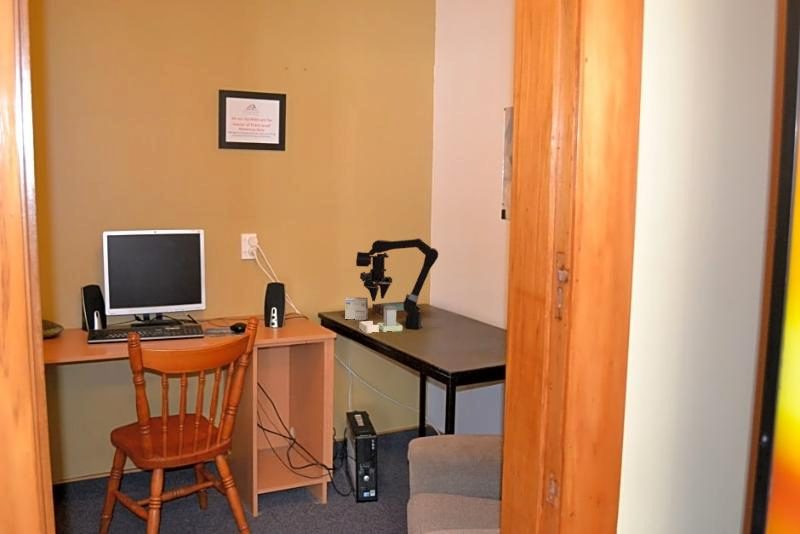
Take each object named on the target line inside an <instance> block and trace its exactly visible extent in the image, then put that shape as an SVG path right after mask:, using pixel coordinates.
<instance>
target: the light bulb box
mask: <svg viewBox="0 0 800 534" xmlns="http://www.w3.org/2000/svg"><path fill="white" fill-rule="evenodd" d="M344 301H345V302H344V320H345V319H355V320H354V321H364V320H366V319H367V320H368V318H369V317H368V315H369V308H368V307H369V305H368V304H369V303H368V302H369V299H368V297H361V296H360V297H352V296H347V297H346V298H345V299H344ZM367 320H366V321H367Z"/></svg>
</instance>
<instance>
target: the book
mask: <svg viewBox="0 0 800 534" xmlns="http://www.w3.org/2000/svg"><path fill="white" fill-rule="evenodd" d="M403 302H404V301H399V302H397V301H396V302H395V301H394V302H384V303H383V302H381V303H373V304H372V313H373V312H374V314H376V313H377V314H376V315H378V314H379V315H378V316H380V315H381V317H383V318H384V306H394V307H396V320H405V319H404V318H407V315H408V313H407V312H406V311H405V310H404V308H403V306H404V304H403ZM419 315H421V316H422V310H421V311H420V314H419Z"/></svg>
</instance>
